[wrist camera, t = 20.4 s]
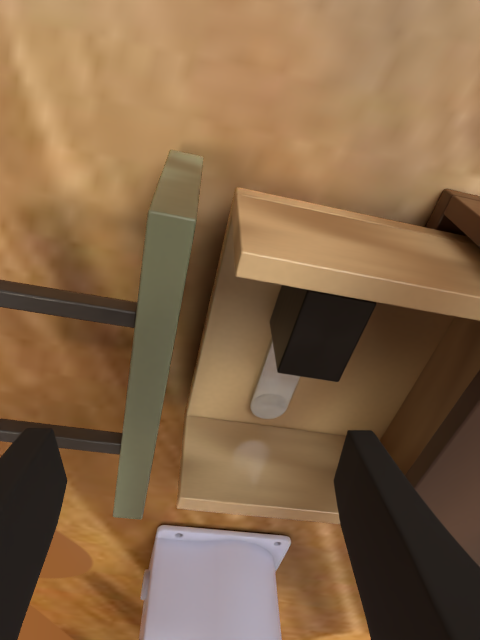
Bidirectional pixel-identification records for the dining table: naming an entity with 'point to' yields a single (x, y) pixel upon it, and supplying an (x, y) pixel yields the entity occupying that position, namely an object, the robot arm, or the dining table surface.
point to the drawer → (253, 339)
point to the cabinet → (455, 418)
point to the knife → (306, 344)
